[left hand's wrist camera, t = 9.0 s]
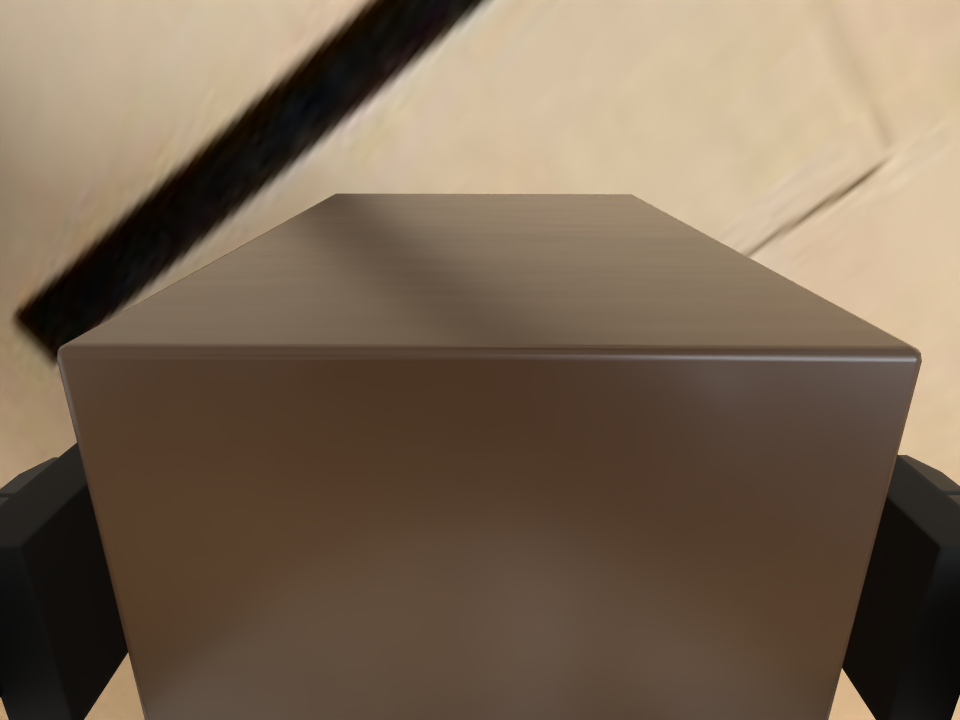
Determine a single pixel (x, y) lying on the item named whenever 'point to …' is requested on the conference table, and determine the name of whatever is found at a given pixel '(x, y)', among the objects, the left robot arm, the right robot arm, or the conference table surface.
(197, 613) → the box
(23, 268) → the conference table surface
